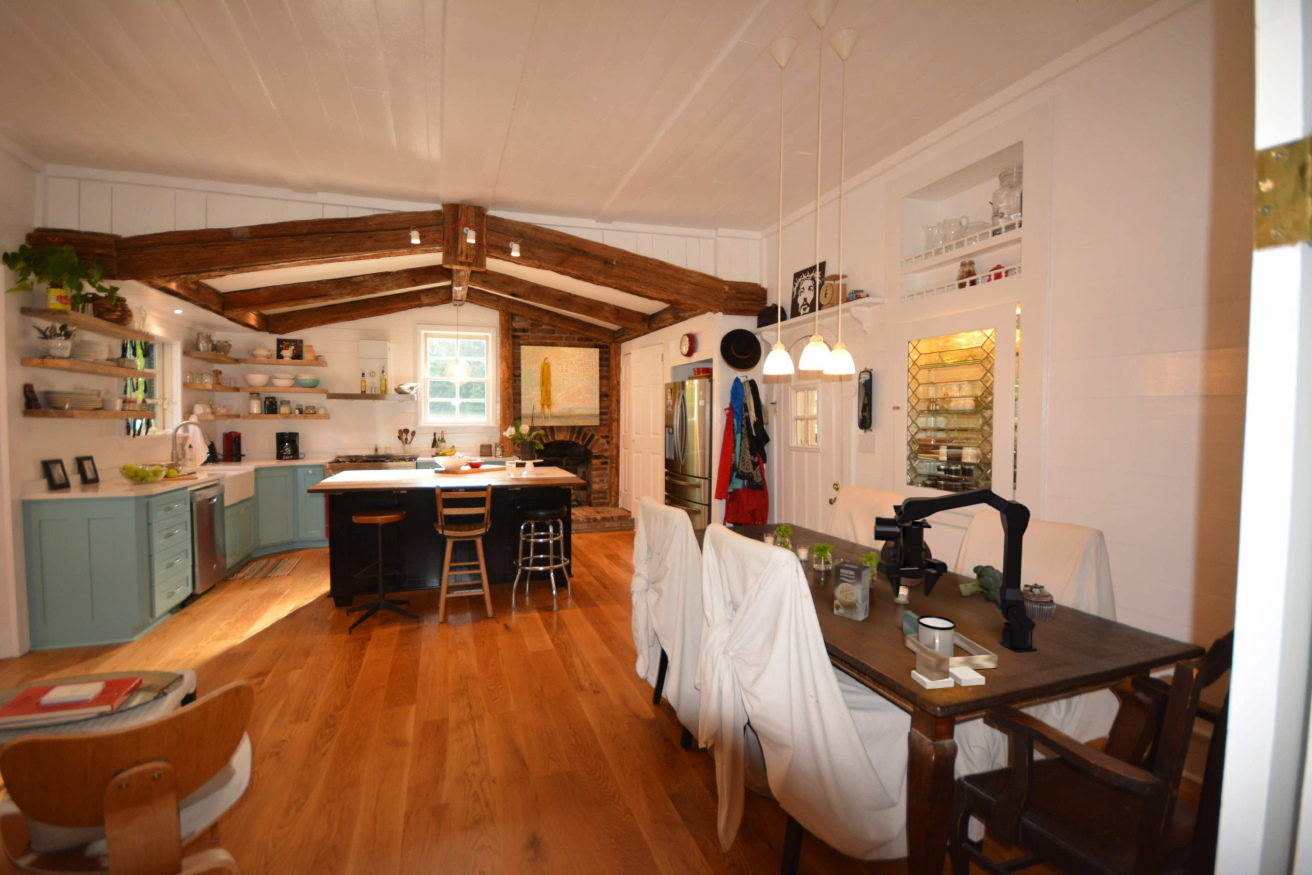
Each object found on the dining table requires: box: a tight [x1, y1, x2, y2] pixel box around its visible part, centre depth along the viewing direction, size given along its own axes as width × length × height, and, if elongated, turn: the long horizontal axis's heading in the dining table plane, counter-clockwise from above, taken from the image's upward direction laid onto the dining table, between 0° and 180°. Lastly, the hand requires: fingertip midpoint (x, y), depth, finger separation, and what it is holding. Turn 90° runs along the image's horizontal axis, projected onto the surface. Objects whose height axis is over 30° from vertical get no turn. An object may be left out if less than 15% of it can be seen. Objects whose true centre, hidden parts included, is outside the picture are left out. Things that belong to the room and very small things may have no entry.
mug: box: [917, 614, 958, 658], centre depth 152 cm, size 12×10×9 cm
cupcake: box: [1021, 583, 1057, 622], centre depth 181 cm, size 10×10×10 cm
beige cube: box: [915, 649, 949, 681], centre depth 138 cm, size 5×5×5 cm
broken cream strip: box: [910, 667, 986, 690], centre depth 138 cm, size 15×6×2 cm, turn 99°
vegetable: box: [958, 564, 1003, 602], centre depth 199 cm, size 12×13×15 cm
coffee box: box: [833, 560, 871, 622], centre depth 182 cm, size 9×6×16 cm
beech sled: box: [902, 610, 999, 670], centre depth 156 cm, size 15×24×6 cm, turn 9°
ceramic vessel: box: [880, 504, 933, 587], centre depth 215 cm, size 21×18×30 cm
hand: (911, 596), depth 165 cm, fingers open, 9 cm apart
